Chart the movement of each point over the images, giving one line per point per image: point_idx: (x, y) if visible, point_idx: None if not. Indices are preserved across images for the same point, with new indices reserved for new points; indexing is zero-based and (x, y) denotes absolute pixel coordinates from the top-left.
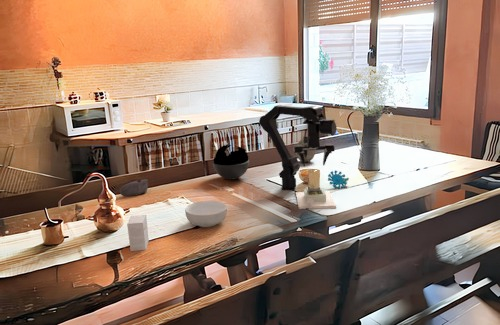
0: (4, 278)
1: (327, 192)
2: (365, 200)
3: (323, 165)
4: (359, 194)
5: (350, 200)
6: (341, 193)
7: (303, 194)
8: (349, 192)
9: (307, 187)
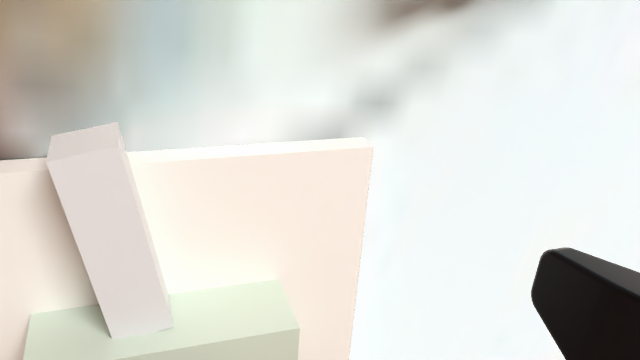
0: None
1: (339, 192)
2: None
3: (533, 300)
4: (612, 177)
5: (481, 325)
6: (480, 145)
7: (18, 272)
8: (562, 116)
9: (72, 178)
